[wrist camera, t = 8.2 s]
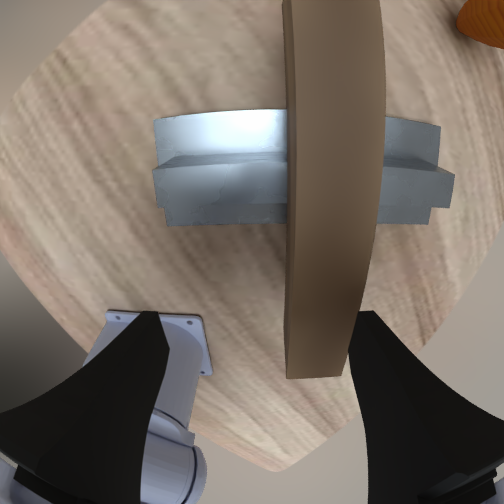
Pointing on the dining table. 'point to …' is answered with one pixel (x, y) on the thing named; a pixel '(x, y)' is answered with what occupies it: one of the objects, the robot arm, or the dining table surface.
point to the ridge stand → (279, 169)
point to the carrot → (483, 21)
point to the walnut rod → (330, 174)
